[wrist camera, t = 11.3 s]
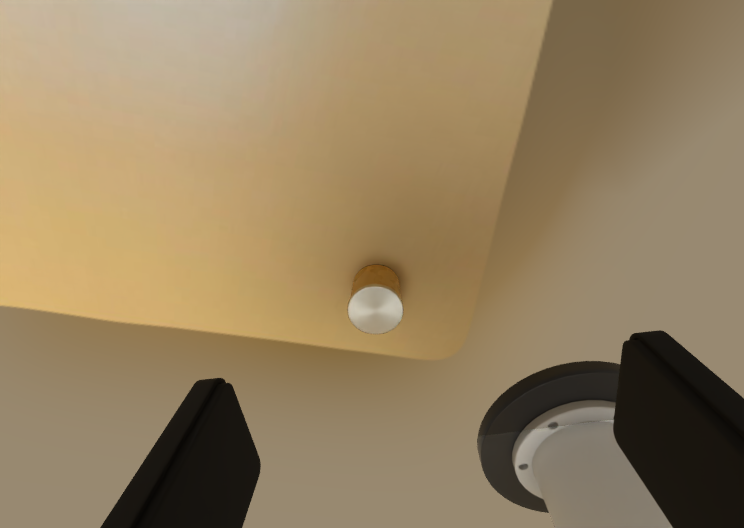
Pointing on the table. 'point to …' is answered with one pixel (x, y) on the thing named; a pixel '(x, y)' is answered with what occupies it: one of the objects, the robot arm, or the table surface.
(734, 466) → the robot arm
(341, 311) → the table surface
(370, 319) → the coffee pod
